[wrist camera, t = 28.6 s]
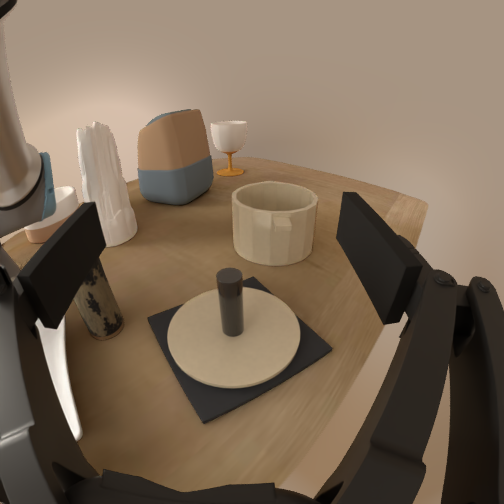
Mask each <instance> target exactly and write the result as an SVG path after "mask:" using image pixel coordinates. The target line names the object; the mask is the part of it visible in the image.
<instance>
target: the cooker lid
mask: <svg viewBox="0 0 504 504" xmlns="http://www.w3.org/2000/svg"><path fill="white" fill-rule="evenodd" d="M216 278H217V288H218V289H214V290H210V291H207V292H204V293H202V294H200V295H197V296H196V297H194V298H192V299H190V300H189V301H188V302H186V303H185V304H184V305H183V306H182V307H180V309H179V310H178V311H177V312H176V313H175V315H174V316H173V318H172V320H171V322H170V325H169V328H168V334H167V340H168V346H169V350H170V353H171V355H172V357H173V359H174V361H175V362H176V364H177V365H178V366H179V367H180V368H181V369H182V370H183V371H184V372H185V373H186V374H187V375H189V376H190V377H192V378H194V379H195V380H197V381H199V382H202V383H204V384H207V385H211V386H214V387H220V388H245V387H250V386H254V385H257V384H260V383H263V382H265V381H268V380H270V379H272V378H273V377H275V376H276V375H278V374H279V373H281V372H282V371H283V370H284V369H285V368H286V367H287V366H288V365H289V364H290V363H291V361H292V360H293V358H294V356H295V355H296V352H297V350H298V347H299V342H300V326H299V323H298V320H297V318H296V316H295V314H294V313H293V311H292V310H291V309H290V308H289V307H288V306H287V305H286V304H285V303H284V302H283V301H282V300H280V299H279V298H277V297H275V296H273V295H271V294H269V293H267V292H264V291H261V290H257V289H253V288H247V287H243V279H242V273H241V271H240V270H238V269H235V268H225V269H222V270H220V271H219V272H218V273H217V275H216Z"/></svg>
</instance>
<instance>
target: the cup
mask: <svg viewBox="0 0 504 504" xmlns="http://www.w3.org/2000/svg"><path fill="white" fill-rule="evenodd" d="M211 133H212V139H213V143H214V146H215V147H216V148H217V150H219V151H221V152H223V153H226V154H227V155H228V161H229V165H228V168H226V169H222V170H219V171H217V174H218V175H221V176H237V175H240V174H242V173H244V171H243V170H242V169H238V168H232V163H231V156H232V154H233V153H235V152H237V151H239V150H241V149H242V147H243V146H244V144H245V140H246V135H247V122H245V121H223V122H215V123H211Z"/></svg>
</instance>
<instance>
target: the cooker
mask: <svg viewBox="0 0 504 504" xmlns="http://www.w3.org/2000/svg"><path fill="white" fill-rule="evenodd" d="M317 209H318V197H317V196H316V194H315V193H314V192H313V191H311V190H309V189H307V188H305V187H302V186H298V185H295V184H291V183H283V182H275V181H263V182H260V183H253V184H248V185H245V186H243V187H240V188H238V189H237V190H235V191H234V192H233V193H232V218H233V242H234V248H235V250H236V252H237V253H238V254H239V255H240V256H241V257H243V258H244V259H246V260H248V261H251V262H253V263H257V264H261V265H267V266H284V265H290V264H294V263H297V262H300V261H302V260H303V259H305V258H306V257H307V256H309V254H310V253H311V251H312V248H313V244H314V236H315V227H316V218H317Z"/></svg>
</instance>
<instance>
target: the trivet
mask: <svg viewBox="0 0 504 504" xmlns="http://www.w3.org/2000/svg"><path fill="white" fill-rule="evenodd" d="M243 287H247V288H253V289H257V290H261V291H264V292H267V293H269V294H271V295H273V294H272V293H271V292H270V291H269V290H268V289H267V288H265V287H264V286H263V285H262V284H261V283H260V282H259V281H258V280H257V279H256V278H255V277H251V278H248V279H246V280H243ZM273 296H274V295H273ZM183 305H184V304H182V305H179V306H177V307H174V308H171V309H169V310H166V311H163V312H161V313H158V314H155V315H153V316H150V317H147V318H148V321H149V323H150V325H151V328H152V330H153V332H154V334H155V336H156V338H157V340H158V342H159V345H160V347H161V349H162V351H163V353H164V355H165V357H166V359H167V360H168V362H169V364H170V366H171V368H172V370H173V372H174V374H175V376H176V378H177V379H178V381H179V383H180V385H181V387H182V388H183V390H184V392H185V394H186V396H187V397H188V399H189V401H190V402H191V404H192V406H193V408H194V409H195V411H196V413H197V414H198V416H199V417H200V419H201V421H202V422H203V424H205V423H207V422H209V421H211V420H213V419H215V418H218V417H220V416H222V415H224V414H226V413H228V412H230V411H232V410H234V409H236V408H238V407H239V406H241V405H243V404H245V403H247V402H249V401H251V400H253V399H254V398H256V397H258V396H260V395H262V394H263V393H265V392H267V391H269V390H271V389H272V388H274V387H276V386H277V385H279V384H281V383H282V382H284V381H286V380H287V379H289V378H291V377H292V376H294V375H296V374H297V373H299V372H300V371H302V370H304V369H305V368H307V367H308V366H310V365H311V364H313V363H314V362H316V361H317V360H319V359H320V358H322V357H323V356H325V355H326V354H328V353H329V352H331V351H332V347H331V346H330V345H329V344H327V343H326V342H325V341H324V340H323V339H322V338H321V337H320V336H318V335H317V334H316V333H315V332H314V331H313V330H312V329H311V328H310V327H308V326H307V325H306V324H305V323H304V322H303V321H302V320H301V319H300V318H298V317H297V316H296V315H295V316H296V318H297V320H298V323H299V326H300V342H299V347H298V350H297V352H296V355H295V356H294V358H293V360H292V361H291V363H290V364H289V365H288V366H287V367H286V368H285V369H284V370H283V371H282V372H281V373H279V374H278V375H276V376H275V377H273V378H272V379H270V380H268V381H265V382H263V383H260V384H257V385H254V386H250V387H245V388H220V387H214V386H211V385H207V384H204V383H202V382H199V381H197V380H195V379H194V378H192V377H190V376H189V375H187V374H186V373H185V372H184V371H183V370H182V369H181V368H180V367H179V366H178V365H177V364H176V362H175V361H174V359H173V357H172V355H171V353H170V350H169V346H168V340H167V334H168V328H169V325H170V322H171V320H172V318H173V316H174V315H175V313H176V312H177V311H178V310H179V309H180V307H182V306H183Z"/></svg>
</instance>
